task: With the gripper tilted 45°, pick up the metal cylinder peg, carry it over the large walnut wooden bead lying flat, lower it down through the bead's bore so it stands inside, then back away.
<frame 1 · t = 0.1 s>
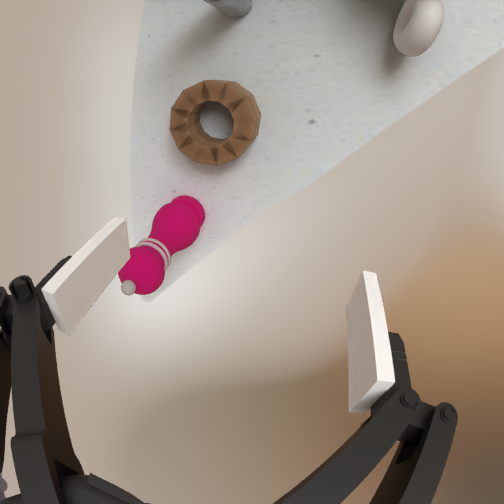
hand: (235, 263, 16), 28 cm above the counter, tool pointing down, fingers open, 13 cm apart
donut: (404, 27, 26), on the counter
metal cylinder peg: (237, 5, 28), on the counter
bead: (220, 118, 38), on the counter
pepper mill: (187, 212, 48), on the counter
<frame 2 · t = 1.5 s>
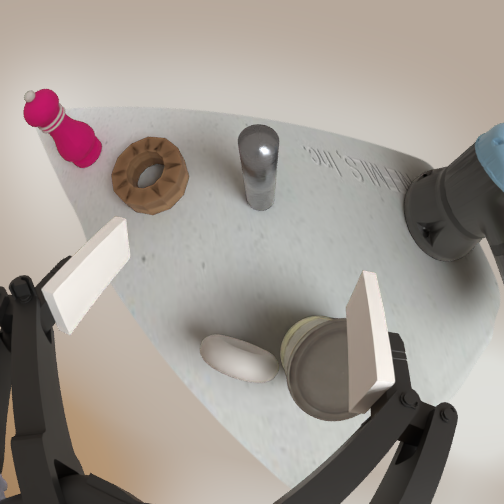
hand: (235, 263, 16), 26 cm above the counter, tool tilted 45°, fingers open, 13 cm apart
donut: (242, 351, 40), on the counter
metal cylinder peg: (260, 197, 43), on the counter
bead: (154, 181, 44), on the counter
coffee can: (315, 351, 39), on the counter
pepper mill: (88, 153, 47), on the counter
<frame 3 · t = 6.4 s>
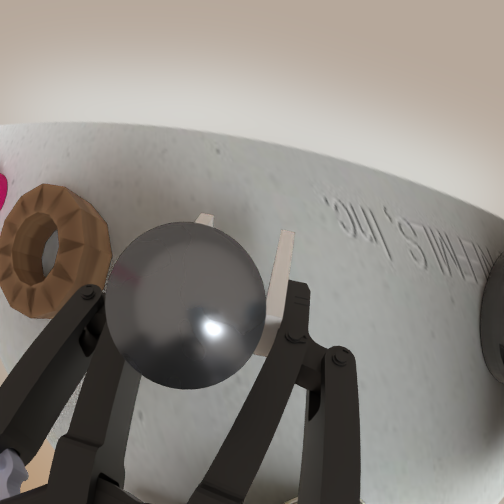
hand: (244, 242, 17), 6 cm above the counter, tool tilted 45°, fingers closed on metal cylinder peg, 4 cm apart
metal cylinder peg: (237, 307, 22), on the counter, touching gripper
bead: (63, 257, 24), on the counter
when the fingers open (8 cm above the counter, at t = 12.1 s): metal cylinder peg drops 2 cm, resting in bead.
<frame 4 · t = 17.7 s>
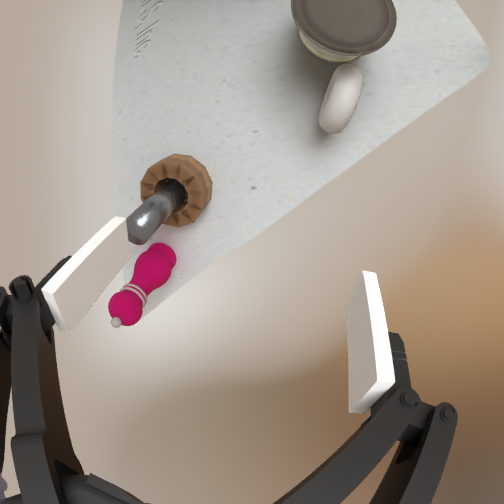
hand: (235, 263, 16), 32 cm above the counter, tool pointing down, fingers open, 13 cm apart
donut: (336, 95, 37), on the counter
metal cylinder peg: (181, 185, 49), resting in bead
bead: (181, 185, 49), on the counter
coffee can: (334, 30, 31), on the counter
pepper mill: (162, 254, 59), on the counter
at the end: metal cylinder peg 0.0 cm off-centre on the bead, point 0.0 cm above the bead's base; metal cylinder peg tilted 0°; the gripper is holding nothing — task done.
